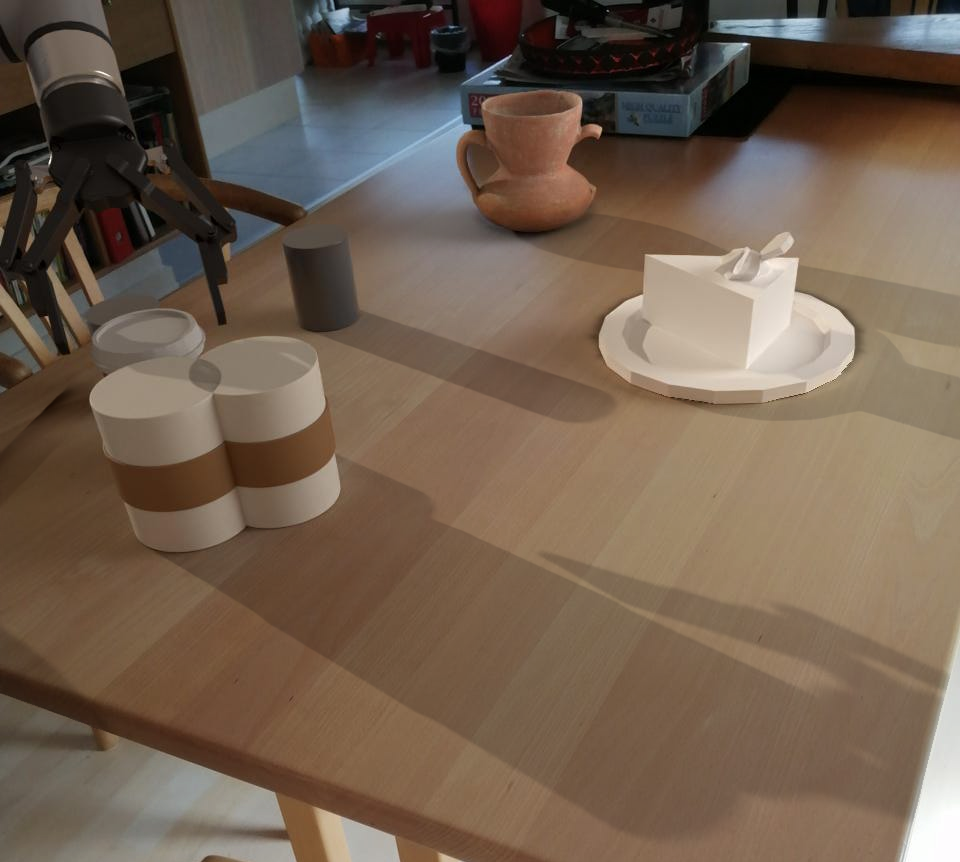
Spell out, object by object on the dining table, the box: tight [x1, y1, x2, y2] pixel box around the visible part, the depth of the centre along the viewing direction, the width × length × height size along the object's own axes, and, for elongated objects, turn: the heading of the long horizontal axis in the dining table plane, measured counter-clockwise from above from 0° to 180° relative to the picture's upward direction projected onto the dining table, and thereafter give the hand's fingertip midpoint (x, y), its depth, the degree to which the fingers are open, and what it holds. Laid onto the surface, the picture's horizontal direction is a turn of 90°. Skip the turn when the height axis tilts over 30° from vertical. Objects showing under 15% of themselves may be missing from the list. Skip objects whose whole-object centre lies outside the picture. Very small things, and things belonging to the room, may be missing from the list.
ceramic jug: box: [455, 89, 603, 233], centre depth 129 cm, size 18×14×14 cm
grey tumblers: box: [83, 224, 361, 378], centre depth 106 cm, size 7×30×9 cm, turn 134°
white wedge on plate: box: [598, 231, 856, 405], centre depth 100 cm, size 25×25×11 cm
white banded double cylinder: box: [89, 335, 342, 553], centre depth 83 cm, size 17×14×12 cm
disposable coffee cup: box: [90, 308, 206, 377], centre depth 90 cm, size 10×10×12 cm
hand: (143, 334), depth 90 cm, fingers open, 13 cm apart
